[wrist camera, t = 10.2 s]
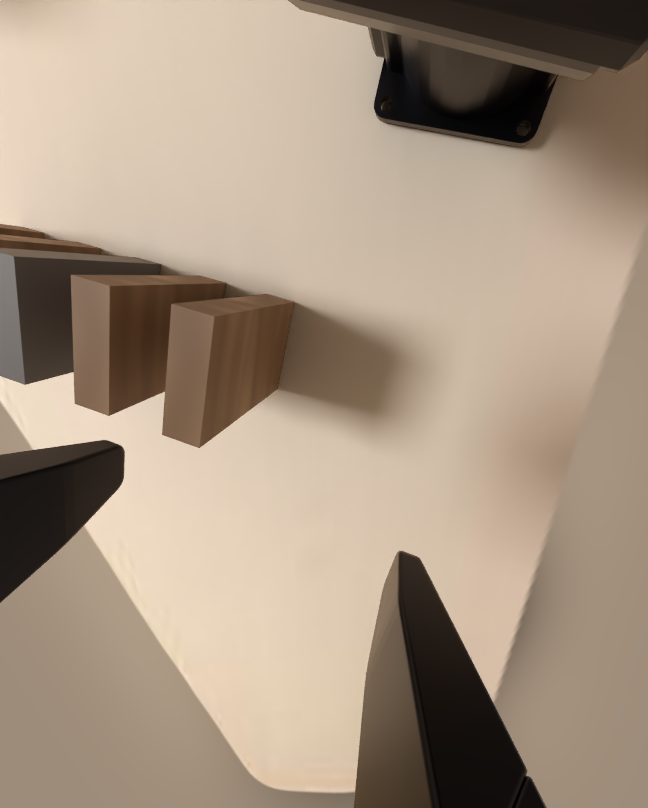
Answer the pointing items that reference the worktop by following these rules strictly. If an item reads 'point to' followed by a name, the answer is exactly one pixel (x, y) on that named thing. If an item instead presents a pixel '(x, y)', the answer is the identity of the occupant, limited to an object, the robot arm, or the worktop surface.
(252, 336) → the domino
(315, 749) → the worktop surface
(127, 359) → the domino
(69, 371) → the gray domino
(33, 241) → the domino
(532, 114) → the robot arm
